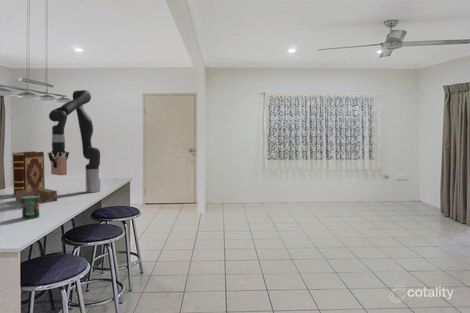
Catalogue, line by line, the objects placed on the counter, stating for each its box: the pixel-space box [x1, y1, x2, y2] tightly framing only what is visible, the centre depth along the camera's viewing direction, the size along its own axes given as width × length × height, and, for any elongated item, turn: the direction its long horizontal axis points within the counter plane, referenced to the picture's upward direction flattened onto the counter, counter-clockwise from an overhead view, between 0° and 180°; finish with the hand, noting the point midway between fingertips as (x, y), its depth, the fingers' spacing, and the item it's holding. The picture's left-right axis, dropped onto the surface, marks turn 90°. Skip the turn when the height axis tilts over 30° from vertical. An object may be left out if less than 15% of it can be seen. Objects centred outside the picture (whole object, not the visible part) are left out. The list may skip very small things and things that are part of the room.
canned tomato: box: [21, 196, 40, 220], centre depth 188 cm, size 8×8×11 cm
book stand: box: [15, 188, 58, 204], centre depth 231 cm, size 16×20×6 cm
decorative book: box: [11, 150, 46, 198], centre depth 253 cm, size 22×8×30 cm, turn 168°
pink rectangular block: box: [50, 155, 68, 176], centre depth 233 cm, size 4×11×12 cm, turn 57°
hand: (58, 167), depth 233 cm, fingers closed on pink rectangular block, 4 cm apart
